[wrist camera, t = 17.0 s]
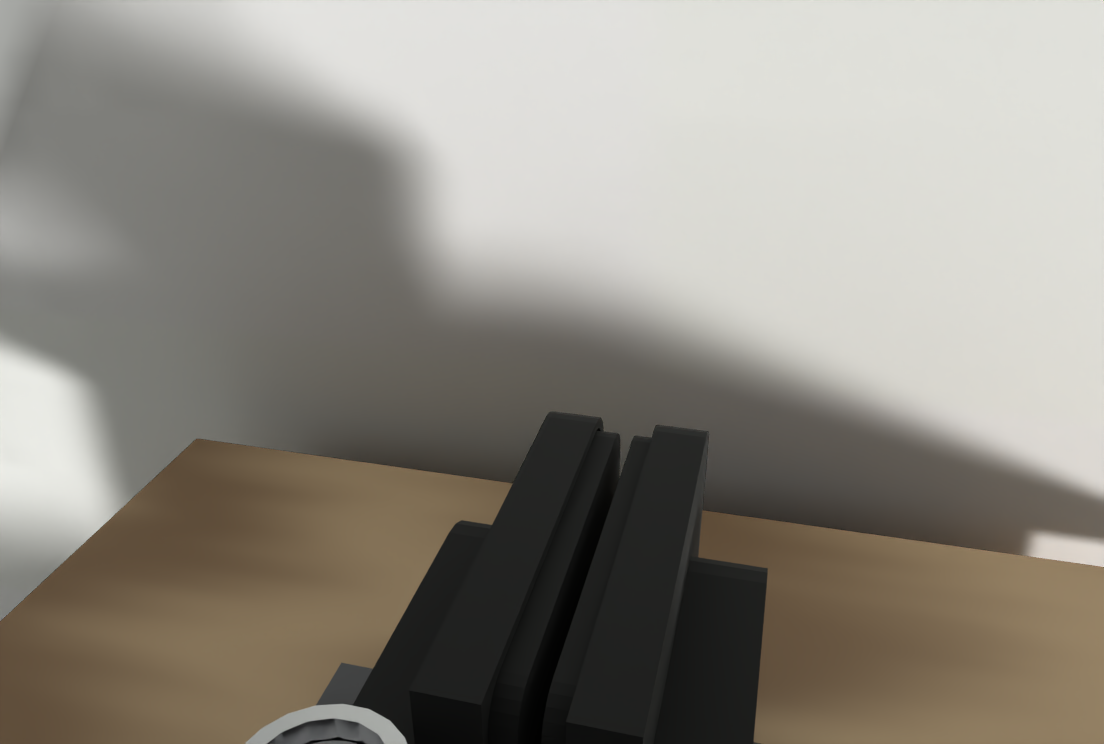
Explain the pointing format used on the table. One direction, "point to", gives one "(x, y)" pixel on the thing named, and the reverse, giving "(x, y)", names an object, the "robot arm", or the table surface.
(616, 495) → the robot arm
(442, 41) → the table surface
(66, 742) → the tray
